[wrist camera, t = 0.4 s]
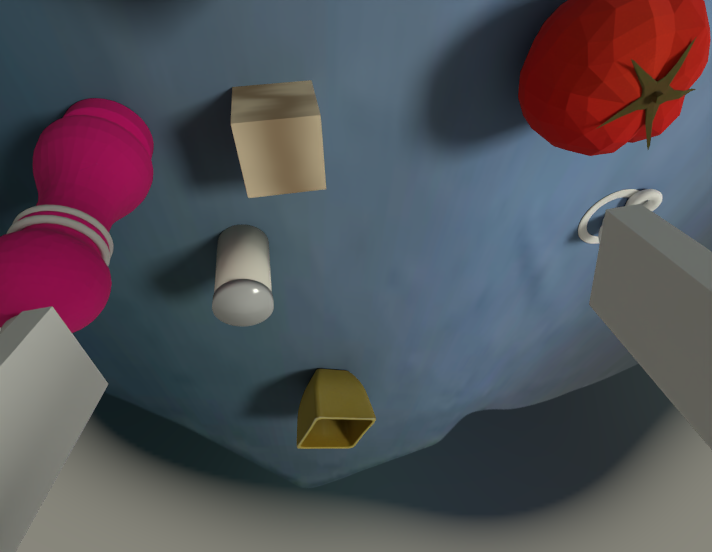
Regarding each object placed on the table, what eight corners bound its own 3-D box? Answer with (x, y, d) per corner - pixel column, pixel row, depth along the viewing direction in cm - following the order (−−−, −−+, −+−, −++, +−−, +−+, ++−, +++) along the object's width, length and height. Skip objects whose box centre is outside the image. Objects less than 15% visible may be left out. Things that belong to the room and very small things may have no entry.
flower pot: (309, 358, 60) (316, 418, 54) (365, 362, 64) (377, 419, 57) (291, 391, 66) (295, 449, 59) (343, 393, 69) (353, 448, 63)
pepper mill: (178, 133, 34) (134, 334, 21) (132, 191, 37) (67, 402, 23) (82, 68, 30) (-56, 270, 16) (38, 140, 33) (-110, 363, 19)
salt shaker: (225, 217, 41) (222, 281, 35) (277, 232, 43) (282, 294, 37) (210, 255, 44) (204, 320, 38) (259, 267, 46) (261, 330, 40)
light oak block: (247, 157, 37) (248, 198, 33) (232, 86, 32) (230, 123, 28) (317, 149, 37) (326, 189, 33) (311, 80, 33) (320, 115, 29)
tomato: (542, 138, 41) (611, 209, 33) (468, 64, 34) (532, 130, 27) (664, 25, 35) (781, 80, 27) (602, -89, 29) (732, -59, 21)
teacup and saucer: (657, 174, 47) (683, 196, 45) (643, 225, 53) (664, 247, 50) (579, 201, 48) (599, 224, 45) (573, 248, 54) (591, 271, 51)
